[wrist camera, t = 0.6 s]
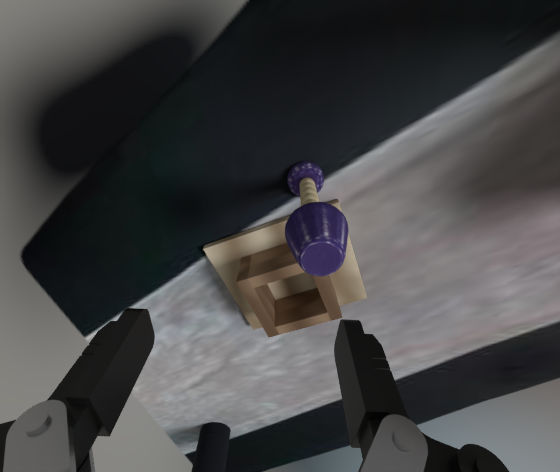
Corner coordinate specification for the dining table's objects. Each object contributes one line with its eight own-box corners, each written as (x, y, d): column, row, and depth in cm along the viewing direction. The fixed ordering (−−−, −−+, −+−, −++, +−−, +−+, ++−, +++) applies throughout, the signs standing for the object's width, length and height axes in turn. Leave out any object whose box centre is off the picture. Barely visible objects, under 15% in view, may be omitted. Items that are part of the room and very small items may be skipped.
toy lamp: (282, 196, 32) (286, 290, 18) (281, 157, 30) (285, 228, 16) (322, 195, 32) (358, 288, 18) (324, 156, 30) (368, 226, 16)
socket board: (337, 198, 33) (348, 221, 27) (365, 293, 40) (378, 324, 35) (204, 245, 36) (192, 273, 30) (253, 324, 43) (250, 358, 38)
